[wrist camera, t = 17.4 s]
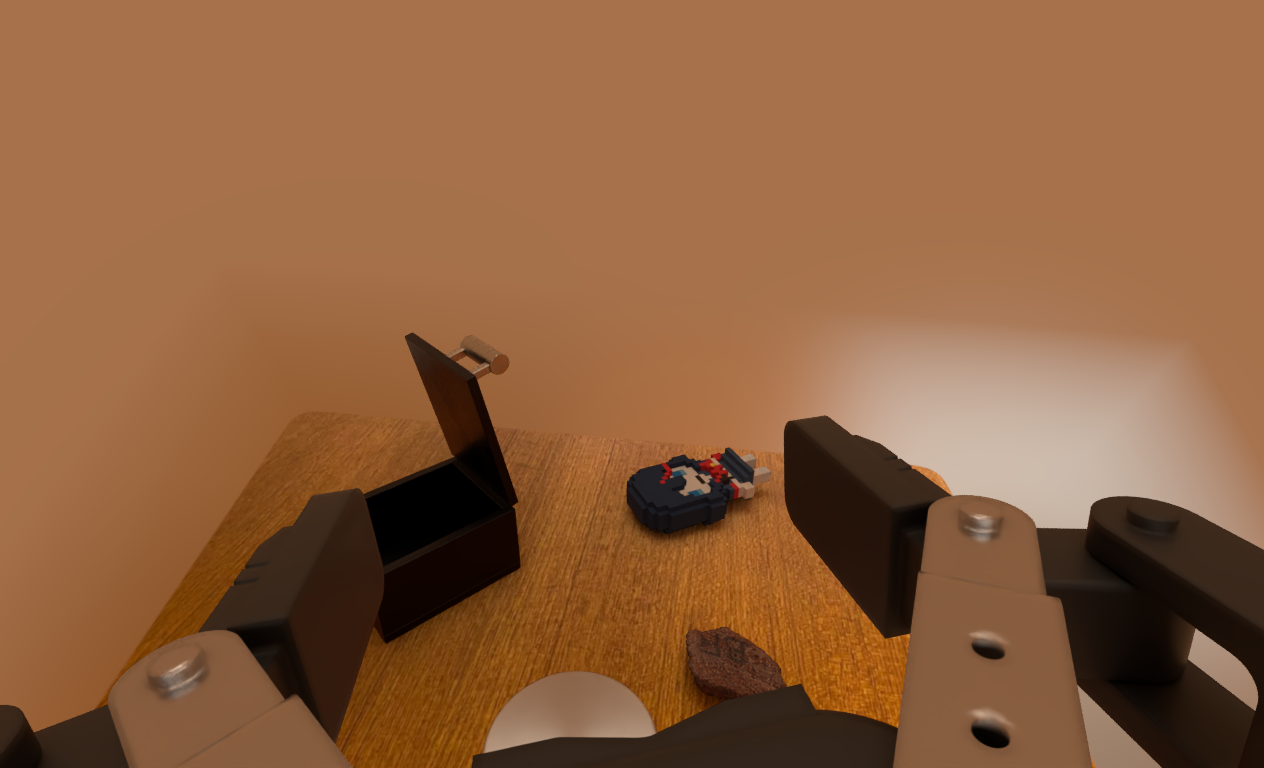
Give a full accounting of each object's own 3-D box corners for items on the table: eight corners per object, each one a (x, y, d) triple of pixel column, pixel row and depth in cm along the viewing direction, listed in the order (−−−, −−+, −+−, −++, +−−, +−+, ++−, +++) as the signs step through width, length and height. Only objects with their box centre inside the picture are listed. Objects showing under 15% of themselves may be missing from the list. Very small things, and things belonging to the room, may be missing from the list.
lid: (466, 380, 45) (522, 349, 48) (404, 336, 52) (455, 311, 55) (511, 507, 53) (557, 475, 56) (451, 454, 60) (495, 428, 62)
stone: (680, 641, 50) (683, 613, 48) (771, 642, 50) (776, 615, 48) (687, 720, 44) (690, 691, 42) (789, 721, 44) (796, 692, 42)
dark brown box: (385, 644, 49) (369, 581, 46) (337, 570, 56) (320, 511, 53) (520, 567, 57) (515, 508, 53) (463, 510, 64) (455, 455, 60)
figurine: (787, 475, 63) (655, 515, 57) (782, 508, 65) (653, 550, 59) (738, 432, 70) (616, 464, 64) (735, 463, 72) (616, 497, 66)
